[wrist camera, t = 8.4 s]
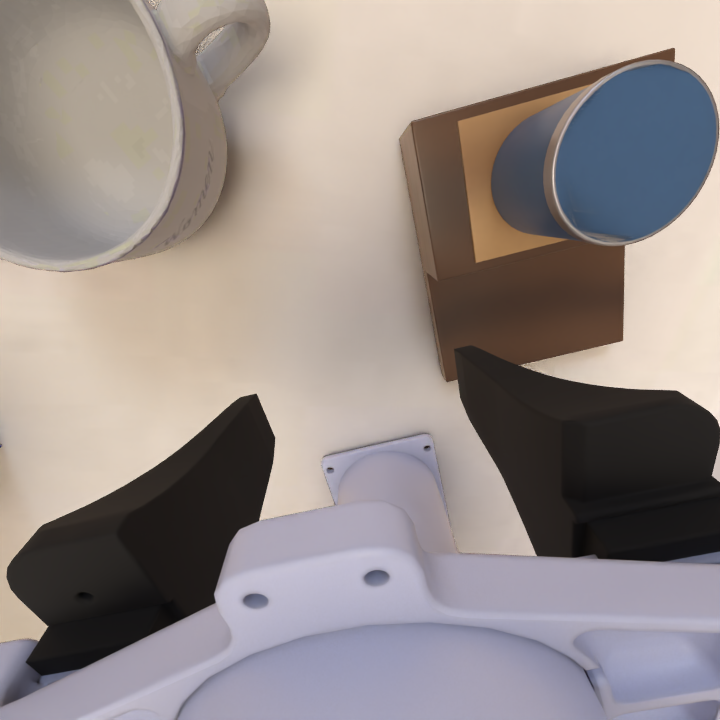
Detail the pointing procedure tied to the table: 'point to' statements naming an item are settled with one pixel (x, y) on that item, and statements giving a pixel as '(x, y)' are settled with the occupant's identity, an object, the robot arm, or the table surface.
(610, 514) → the robot arm
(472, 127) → the step shelf
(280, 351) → the table surface
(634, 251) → the table surface
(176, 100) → the teacup
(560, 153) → the tea tin
